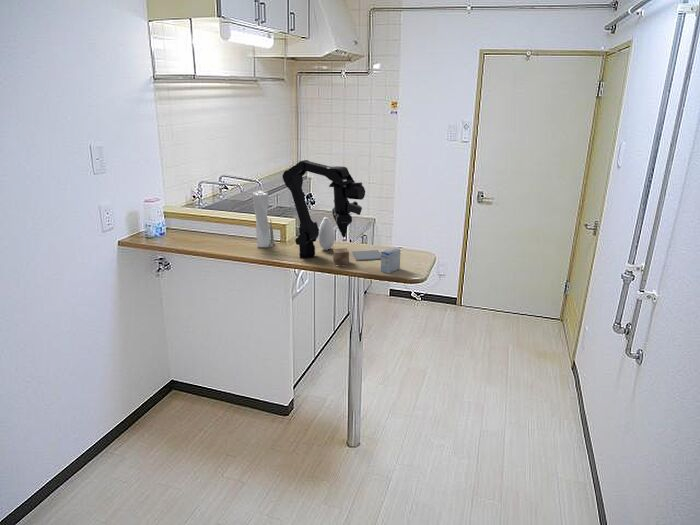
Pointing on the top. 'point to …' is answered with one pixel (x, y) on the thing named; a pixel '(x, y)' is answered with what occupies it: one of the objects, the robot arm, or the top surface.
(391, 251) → the medicine box
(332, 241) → the white elongated ovoid
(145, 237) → the top surface
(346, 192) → the robot arm
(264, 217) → the skyscraper
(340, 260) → the cube
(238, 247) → the top surface
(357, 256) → the mat
